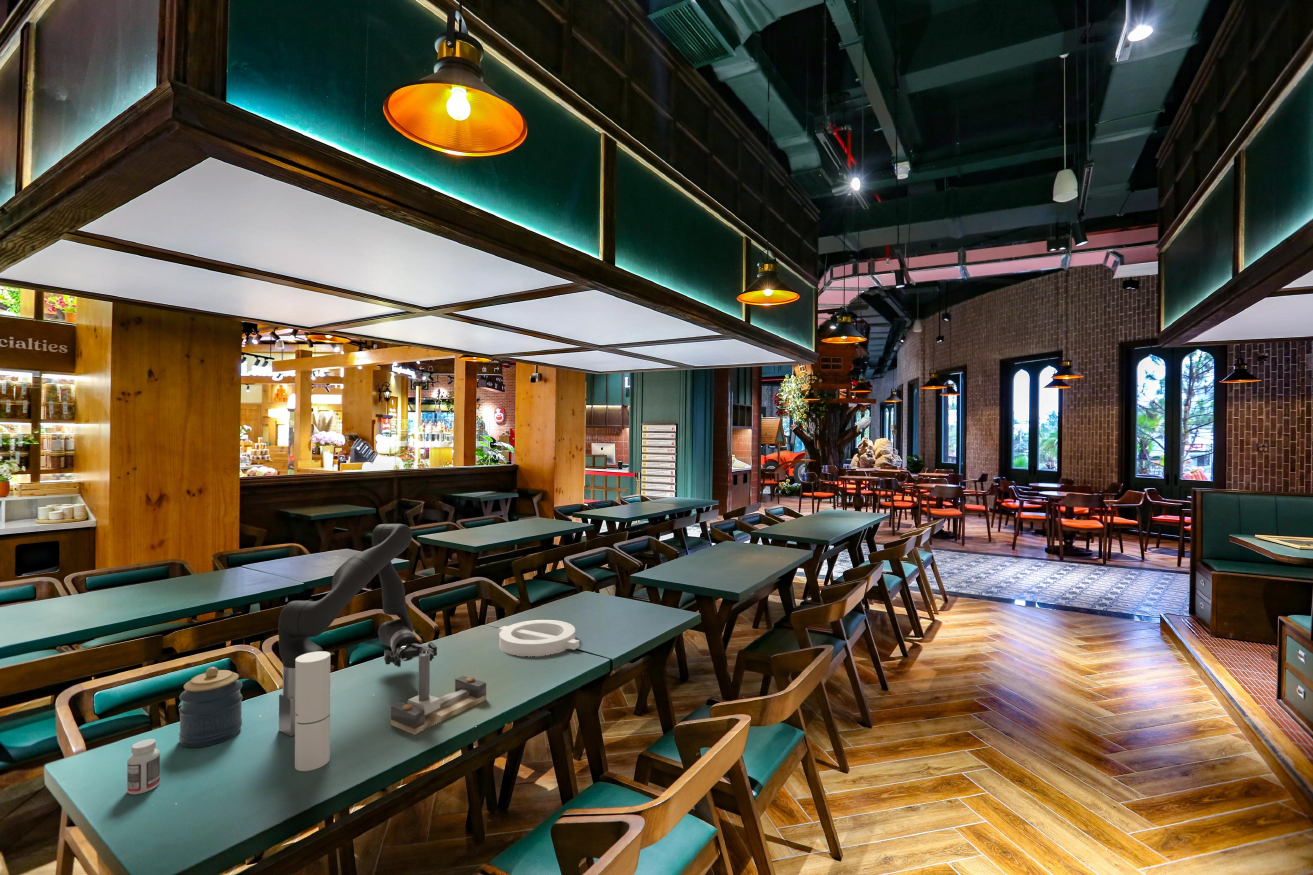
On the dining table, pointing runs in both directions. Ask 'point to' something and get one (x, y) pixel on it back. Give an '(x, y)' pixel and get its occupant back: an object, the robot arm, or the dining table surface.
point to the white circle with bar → (537, 638)
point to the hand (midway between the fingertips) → (415, 660)
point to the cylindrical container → (312, 710)
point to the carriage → (425, 688)
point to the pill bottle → (143, 767)
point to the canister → (210, 708)
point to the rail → (442, 713)
